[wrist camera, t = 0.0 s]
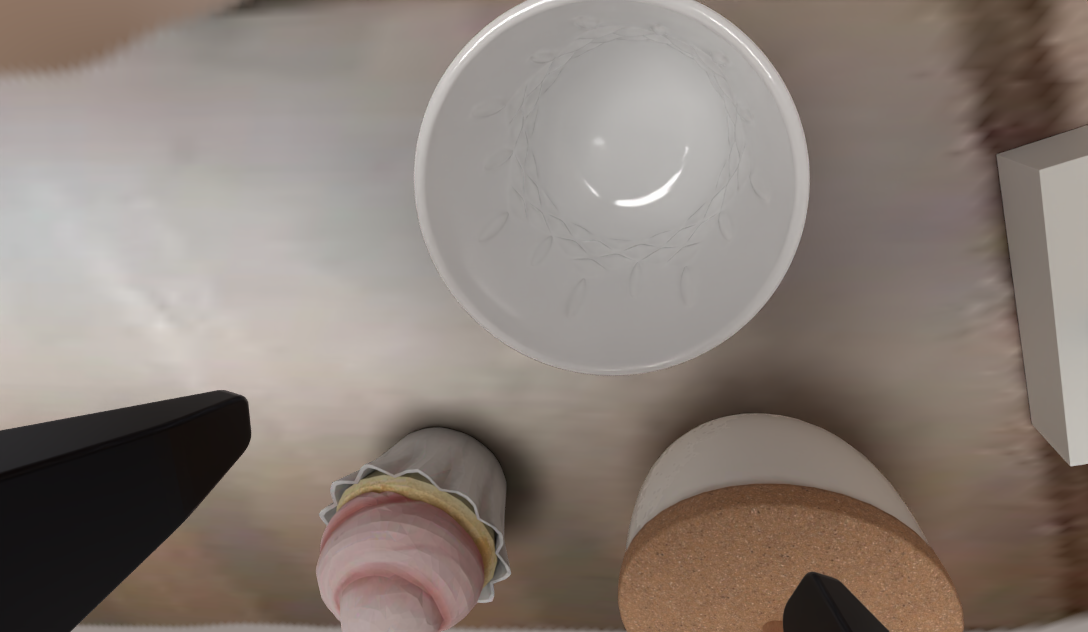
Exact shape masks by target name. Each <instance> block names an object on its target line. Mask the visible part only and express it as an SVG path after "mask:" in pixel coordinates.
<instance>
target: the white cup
mask: <svg viewBox="0 0 1088 632" xmlns="http://www.w3.org/2000/svg"><path fill="white" fill-rule="evenodd" d="M809 191H810V168H809V157H808V149H807V144H806V139H805V134H804V130H803V126H802V123H801V120H800V117H799V114H798V111H797V108H796V106H795V103H794V101H793V99H792V97H791V95H790V93H789V91H788V89H787V87H786V85H785V83H784V81H783V80H782V78H781V76H780V75H779V73H778V72H777V70H776V69H775V67H774V66H773V64H772V63H771V62H770V60H769V59H768V58H767V57H766V55H765V54H764V53H763V52H762V51H761V49H760V48H759V47H758V46H757V45H756V44H755V43H754V42H753V41H752V40H751V39H750V38H749V37H748V36H747V35H746V34H745V33H744V32H743V31H742V30H740V29H739V28H738V27H737V26H736V25H734V24H733V23H732V22H730V21H729V20H728V19H726V18H725V17H723V16H722V15H720V14H719V13H717V12H716V11H714V10H712V9H711V8H709V7H707V6H705V5H704V4H702V3H700V2H698V1H695V0H527V1H525V2H522V3H521V4H519V5H517V6H515V7H513V8H511V9H510V10H508V11H506V12H505V13H503V14H502V15H500V16H499V17H497V18H496V19H495V20H493V21H492V22H490V23H489V24H488V25H487V26H485V27H484V28H483V29H482V30H481V31H480V32H479V33H477V34H476V35H475V36H474V37H473V38H472V39H471V40H470V41H469V42H468V43H467V44H466V45H465V46H464V48H463V49H462V50H461V51H460V52H459V53H458V55H457V56H456V57H455V58H454V60H453V61H452V63H451V64H450V65H449V67H448V68H447V70H446V71H445V73H444V74H443V76H442V78H441V79H440V81H439V83H438V85H437V87H436V88H435V90H434V92H433V95H432V97H431V99H430V101H429V104H428V106H427V109H426V111H425V114H424V117H423V120H422V124H421V127H420V131H419V135H418V140H417V146H416V153H415V162H414V193H415V203H416V210H417V215H418V220H419V224H420V228H421V232H422V235H423V238H424V241H425V244H426V247H427V250H428V252H429V254H430V257H431V259H432V261H433V263H434V265H435V267H436V269H437V271H438V273H439V275H440V277H441V278H442V280H443V282H444V283H445V285H446V286H447V288H448V289H449V291H450V292H451V293H452V295H453V296H454V298H455V299H456V300H457V301H458V303H459V304H460V305H461V306H462V307H463V308H464V310H465V311H466V312H467V313H468V314H469V315H470V316H471V317H472V318H473V319H474V320H475V321H476V322H477V323H478V324H479V325H481V326H482V327H483V328H484V329H485V330H486V331H488V332H489V333H490V334H491V335H493V336H494V337H495V338H497V339H498V340H500V341H501V342H503V343H504V344H506V345H507V346H509V347H511V348H512V349H514V350H516V351H518V352H519V353H521V354H523V355H525V356H527V357H530V358H532V359H534V360H536V361H539V362H541V363H544V364H547V365H550V366H553V367H556V368H560V369H563V370H567V371H572V372H577V373H583V374H590V375H603V376H623V375H635V374H643V373H649V372H654V371H658V370H662V369H666V368H670V367H673V366H676V365H679V364H682V363H684V362H687V361H689V360H692V359H694V358H696V357H698V356H700V355H702V354H704V353H706V352H708V351H710V350H711V349H713V348H715V347H717V346H718V345H720V344H721V343H723V342H724V341H726V340H727V339H729V338H730V337H731V336H733V335H734V334H735V333H736V332H738V331H739V330H740V329H741V328H742V327H744V326H745V325H746V324H747V323H748V322H749V321H750V320H751V319H752V318H753V317H754V316H755V315H756V314H757V313H758V312H759V311H760V310H761V309H762V307H763V306H764V305H765V304H766V303H767V301H768V300H769V299H770V297H771V296H772V295H773V293H774V292H775V291H776V289H777V288H778V286H779V284H780V283H781V281H782V280H783V278H784V276H785V274H786V272H787V271H788V269H789V267H790V265H791V262H792V260H793V258H794V256H795V253H796V251H797V248H798V245H799V242H800V239H801V236H802V233H803V229H804V225H805V220H806V216H807V210H808V203H809Z"/></svg>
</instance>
